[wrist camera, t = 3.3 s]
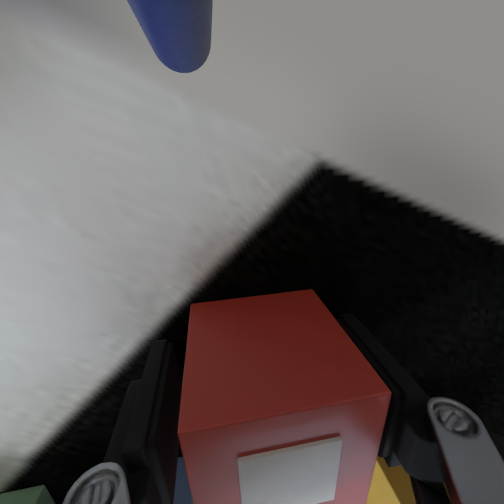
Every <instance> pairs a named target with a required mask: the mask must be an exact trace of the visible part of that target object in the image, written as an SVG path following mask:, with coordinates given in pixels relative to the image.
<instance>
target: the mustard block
mask: <svg viewBox="0 0 504 504" xmlns="http://www.w3.org/2000/svg"><path fill="white" fill-rule="evenodd" d="M366 504H416V503H415V498H414V494H413V490H412V486H411V482H410V478H409V474H407V473H406V472H405V470H404V469H403V467H402V465H399V466H395V467H390V468H389V467H388V465H387V464H386V462H385V460H384V458H380V457H379V456H378V455H377V459H376V463H375V468H374V472H373V476H372V481H371V485H370V489H369V493H368V498H367V502H366Z"/></svg>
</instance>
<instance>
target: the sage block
mask: <svg viewBox="0 0 504 504" xmlns="http://www.w3.org/2000/svg"><path fill="white" fill-rule="evenodd" d="M0 504H56V503H55V502H54V500H53V498H52V497H51V495H50V493H49V492H48V490H47V488H46V487H45V485H40V486H35V487H30V488H25V489H21V490H16V491H11V492H6V493H1V494H0Z"/></svg>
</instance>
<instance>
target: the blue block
mask: <svg viewBox="0 0 504 504" xmlns="http://www.w3.org/2000/svg"><path fill="white" fill-rule="evenodd" d="M173 504H193V500H192V495H191V491H190V487H189V482H188V478H187V473H186V469H185V464H184V460H183V457H179V458H178V461H177V472H176V483H175V493H174V502H173Z"/></svg>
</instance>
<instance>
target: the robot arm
mask: <svg viewBox="0 0 504 504" xmlns="http://www.w3.org/2000/svg"><path fill="white" fill-rule="evenodd" d="M336 321H337V322H338V323H339V325H340V326H341V327H342V328H343V330H344V331H345V332H346V334H347V335H348V336H349V338H350V339H351V340H352V341H353V343H354V344H355V345H356V347H357V348H358V349H359V350H360V352H361V353H362V354H363V356H364V357H365V358H366V360H367V361H368V362H369V363H370V365H371V366H372V367H373V369H374V370H375V371H376V373H377V374H378V375H379V376H380V378H381V379H382V380H383V382H384V383H385V384H386V386H387V387H388V388H389V389H390V391H391V393H392V394H391V399H390V403H389V407H388V412H387V416H386V420H385V425H384V429H383V433H382V437H381V442H380V446H379V450H378V456H379V457H380V458H384V460H385V462H386V464H387V465H388V467H389V468H390V467H395V466H399V465H402V467H403V469H404V470H405V472H406V473H407V474H409V478H410V482H411V486H412V490H413V494H414V498H415V503H416V504H504V437H502V436H500V435H498V434H495V433H493V432H491V431H488V430H486V429H485V427H484V425H483V423H482V422H481V421H480V419H479V418H478V416H477V415H476V414H475V413H474V412H472V411H471V410H470V409H469V408H468V407H466V406H465V405H463V404H462V403H460V402H457V401H455V400H453V399H450V398H447V397H434V398H430V397H429V396H428V395H427V394H426V393H425V392H424V390H423V389H422V388H421V387H420V386H419V385H418V384H417V383H416V382H415V381H414V379H413V378H412V377H411V376H410V375H409V374H408V373H407V372H406V371H405V370H404V368H403V367H402V366H401V365H400V364H399V363H398V362H397V361H396V360H395V359H394V357H393V356H392V355H391V354H390V353H389V352H388V351H387V350H386V349H385V348H384V346H383V345H381V344H380V343H379V342H378V341H377V340H376V339H375V338H374V337H373V336H372V334H371V333H370V332H369V331H368V330H367V329H366V328H365V327H364V326H363V324H362V323H361V322H360V321H359V320H358V319H357V318H356V317H355V316H354V315H353V314H345V315H339V316H338V318H337V319H336ZM181 394H182V383H181V378H180V373H179V368H178V363H177V358H176V352H175V347H174V343H173V342H172V343H169V341H168V340H159V341H153V342H152V344H151V348H150V351H149V355H148V358H147V362H146V365H145V369H144V372H143V376H142V379H140V380H133V381H131V382H130V384H129V386H128V389H127V392H126V395H125V398H124V401H123V404H122V407H121V410H120V413H119V416H118V419H117V422H116V425H115V428H114V431H113V434H112V437H111V440H110V443H109V446H108V449H107V452H106V455H105V458H104V461H103V463H101V464H99V465H97V466H95V467H92V468H91V469H90V470H88V471H87V472H85V473H84V474H83V475H82V476H81V477H80V478H79V479H78V480H77V481H76V482H75V483H74V484H73V486H72V487H71V489H70V490H69V492H68V493H67V495H66V497H65V500H64V502H63V504H173V502H174V493H175V483H176V472H177V461H178V451H179V438H178V423H179V413H180V404H181Z"/></svg>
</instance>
